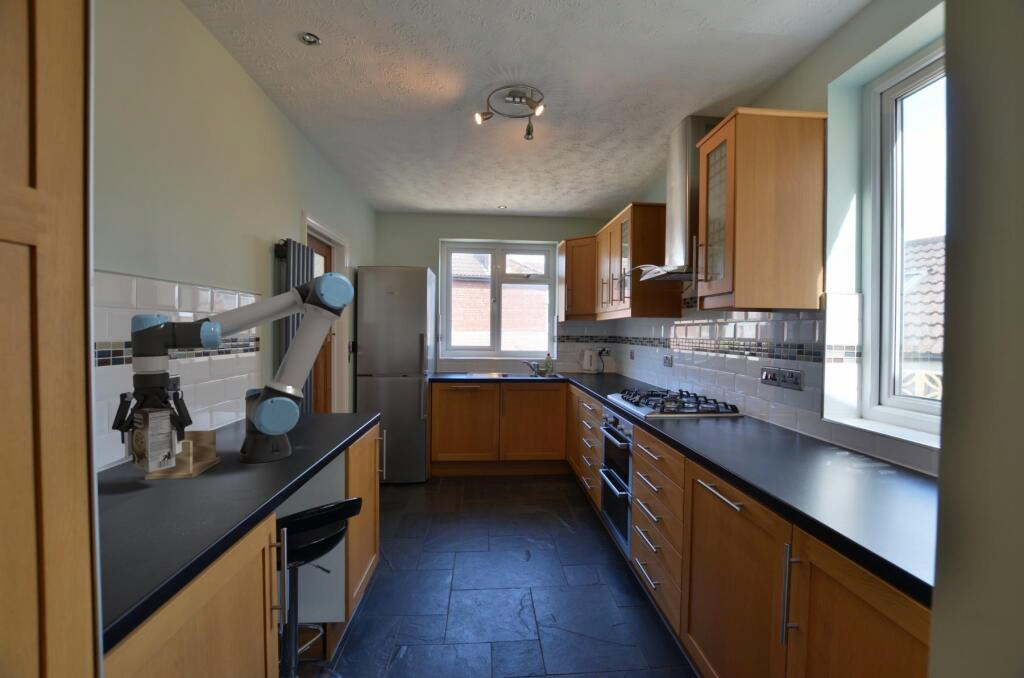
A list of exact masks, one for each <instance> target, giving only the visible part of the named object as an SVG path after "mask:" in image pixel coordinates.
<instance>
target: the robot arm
mask: <svg viewBox="0 0 1024 678" xmlns="http://www.w3.org/2000/svg"><path fill="white" fill-rule="evenodd" d="M354 289H355V288H354V287H353V285H352V282H351V281H350V279H349V278H348V277H346V276H345V275H343V274H341V273H339V272H338V273H337V272H326V273H324V274H322V275H319V276H316V277H313V278H312V279H310V280H308V281H306V282H304V283H301V284H298V285H297V286H293V287H291V288H290V290H289V291H286V292H284V293H280V294H277V295H275V296H272V297H271V296H270V297H268V298H264V299H261V300H259V301H255V302H251V303H249V304H246V305H245V304H244V305H242V306H240V307H235V308H233V309H230V310H226V311H222V312H219V313H216V314H213V315H209V316H207V317H204V318H199V319H197V320H193V321H179V322H178V321H177V322H176V321H169V319H168V316H167V315H165V314H149V313H148V314H146V313H145V314H142V313H141V314H135V315H133V316H132V317H131V322H130V323H131V325H130V327H131V328H130V338H131V339H130V340H131V355H132V356H131V363H132V364H131V366H132V372H133V373H134V374H133V375H132V387H133V392H130V391H127V392H122V393H120V394H119V405H118V408H117V411H116V414H115V417H114V420H113V422H112V426H111V430H113V431H120V436H121V437H120V439H121V444H123V445H124V457H125V458H129V457H131V456H133V453H132V428H131V424H132V421H133V418H134V409H140V408H147V407H158V408H159V409H162V408H165V409H167V408H170V407H172V403H171V401H170V400H169V398H171V400H172V402H173V405H174V415H172V414H171V413H170V422H171V423H172V425H173V426H174V427H175V429H174V430H172V444H173V454H178V453H180V452H182V440H184V438H185V431H186V429H185V428H187V427H189V426H191V425H193V419H192V418H191V417H192V416H191V415H190V412H189V409H188V407H187V405H186V403H185V400H184V391H183V390H176V391H174V390H173V391H171V389H170V384H171V383H170V372H169V371H168V370H170V367H169V366H170V363H169V360H170V357H169V354H170V353H169V350H181V349H182V350H190V349H205V350H208V349H215V348H216V349H217V348H219V347H221V345H222V339H224V338H227V337H229V336H232V335H233V336H234V335H237V334H239V333H242V332H245V331H248V330H251V329H254V328H257V327H259V326H262V325H265V324H268V323H271V322H275V321H276V320H277V321H278V320H281V319H283V318H286V317H289V316H290V317H291V316H292V315H295V314H297V313H300V314H301V315H303V317H302V319H301V322H300V323H299V325H298V328H297V330H296V332H295V334H294V336H293V339H292V340H291V342H290V344H289V347H288V349H287V350H286V353H285V355H284V357H283V360H282V361H281V364H280V365H279V368H278V370H277V372H276V374H275V376H274V378H273V380H272V381H270V382H268V383H266V384H265V385H264V387H260V388H249V389H247V390H246V392H245V397H244V400H245V434H244V438H243V441H242V444H241V446H240V450H239V453H238V460H239V462H243V463H249V464H256V463H268V462H273V461H278V460H283V459H285V458H288V457H289V456H291V454H292V447H291V443H290V440H289V438H288V435H287V433H288V432H289V431H291V430H292V429H294V428H295V426H296V424H298V421H299V418H300V410H299V409H300V407H301V405H302V402H303V399H304V397H305V396H304V394H303V392H302V390H303V387H304V386H305V383H306V381H307V379H308V376H309V374H310V372H311V370H312V368H313V365H314V364H315V361H316V359H317V357H318V355H319V352H320V350H321V349H322V346H323V344H324V342H325V339H326V337H327V335H328V333H329V330H330V329H331V327H332V324H333V323H334V322H336V321H339V320H340V318H341V317H342V314H343V312H344V309H345V308H346V307H348V306H349V305H350V304H351V302H352V301H353V298H354V295H355V293H354V292H355V290H354ZM133 399H134V400H135V401H136V402H135V403H134V405H133V406H132V405H131V404H132V400H133ZM131 406H132V408H133V410H132V411H131V410H130V409H131ZM172 408H173V407H172ZM129 411H130V413H129ZM128 413H129V414H128Z"/></svg>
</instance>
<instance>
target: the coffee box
mask: <svg viewBox="0 0 1024 678" xmlns="http://www.w3.org/2000/svg"><path fill="white" fill-rule="evenodd" d="M132 410H133V407H130V412H131V411H132ZM174 410H175V407H170V408H167V409H165V408H162V409H159V408H158V407H147V408H140V409H134V418H133V421H132V424H131V428H132V429H131V430H132V453H133V455H132V468H134V469H137V470H141V471H143V472H147V473H151V472H154V471H158V470H162V469H166V468H170V467H174V466H176V462H175V454H173V444H172V430H174V429H175V427H174V426H173V425H172V423H171V422H170V413H171V414H172V415H174Z"/></svg>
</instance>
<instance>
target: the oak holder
mask: <svg viewBox="0 0 1024 678" xmlns="http://www.w3.org/2000/svg"><path fill="white" fill-rule="evenodd" d="M216 435H217V430H215V429H214V430H213V429H211V430H205V429H204V430H185V438H184V440H182V452H180V453H178V454H175V462H176V466H174V467H170V468H166V469H162V470H158V471H154V472H148V473H147V474H145V475H144V480H168V479H169V480H174V479H193V478H195V477H196V476H198V475H200V474H202V473H203V472H205V471H206V470H208V469H210V468H212V467H213V466H215V465H217V464H218V463H220V462H221V457H216V456H217V455H216V453H217V450H216V449H217V448H216V447H217V437H216Z"/></svg>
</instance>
